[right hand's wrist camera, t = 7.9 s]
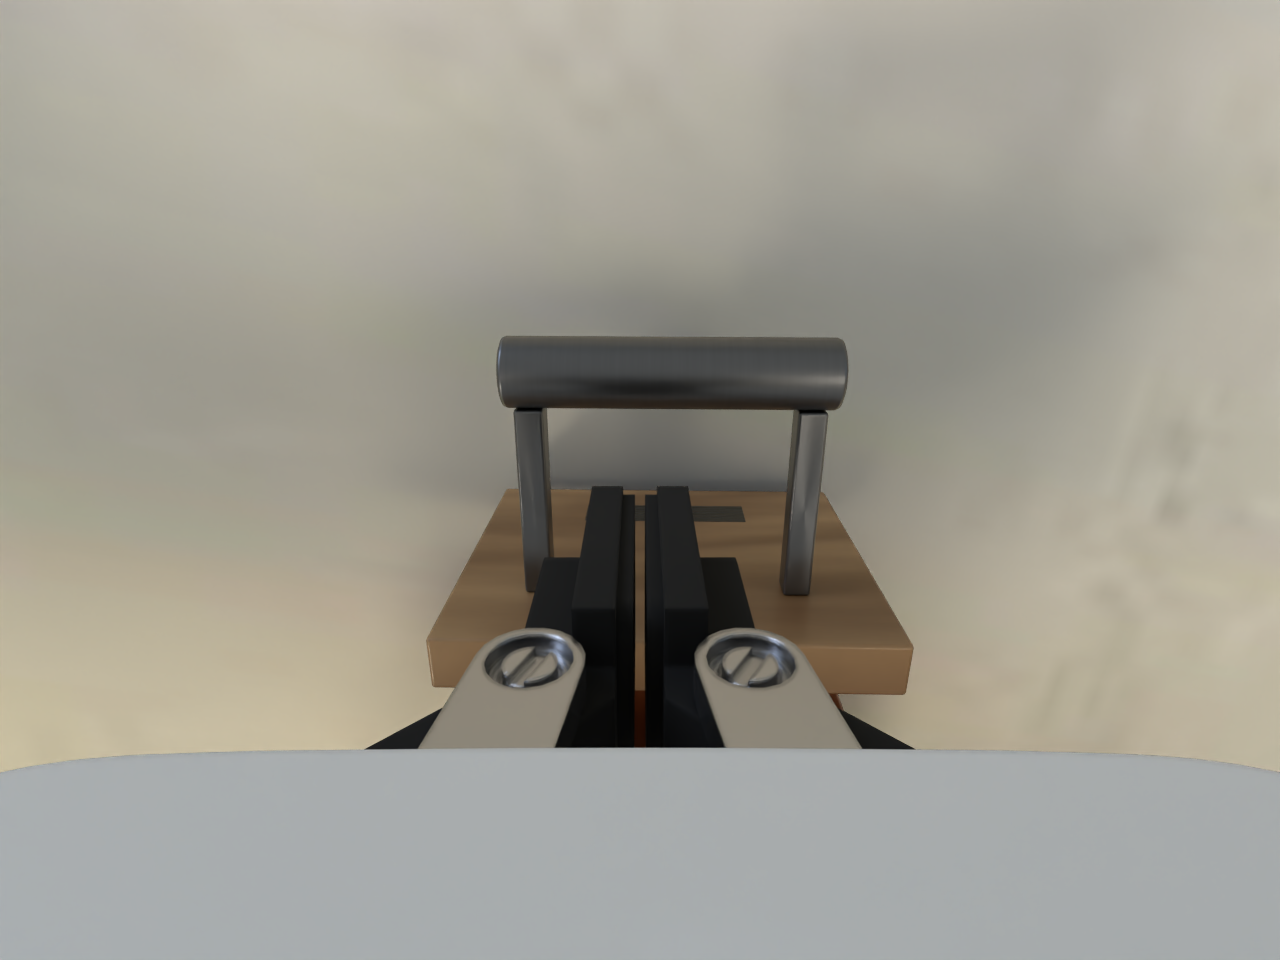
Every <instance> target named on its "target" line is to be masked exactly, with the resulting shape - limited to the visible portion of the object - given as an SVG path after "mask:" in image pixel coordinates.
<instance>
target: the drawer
mask: <svg viewBox="0 0 1280 960" xmlns="http://www.w3.org/2000/svg"><path fill="white" fill-rule="evenodd" d="M496 376H497V387H498V392H499V396H500V399H501V402H502V404H503V405H504V406H505V407H508V408H516V409H515V410H514V427H515V442H516V456H517V471H518V486H519V489H507V490H506V492H505V493H504V495H503V497H502V499H501V501H500V503H499V505H498V506H497V508H496V510H495V512H494V514H493V516H492V518H491V520H490V521H489V523H488V525H487V527H486V529H485V531H484V533H483V534H482V536H481V538H480V540H479V542H478V544H477V546H476V548H475V549H474V551H473V553H472V555H471V557H470V559H469V561H468V563H467V564H466V566H465V568H464V570H463V572H462V574H461V576H460V577H459V579H458V581H457V583H456V585H455V587H454V589H453V591H452V592H451V594H450V596H449V598H448V600H447V602H446V604H445V605H444V607H443V609H442V611H441V613H440V615H439V617H438V619H437V620H436V622H435V624H434V626H433V628H432V630H431V632H430V634H429V635H428V637H427V640H426V642H427V650H428V658H429V665H430V673H431V680H432V685H433V686H434V687H456V686H457V684H458V682H459V681H460V679H461V677H462V676H463V674H464V673H465V671H466V669H467V668H468V666H469V664H470V663H471V661H472V660H473V658H474V656H475V655H476V653H477V652H478V651H479V650H480V649H481V648H482V647H483V646H484V644H486V643H488V642H489V641H491V640H492V639H494V638H495V637H497V636H500V635H502V634H505V633H508V632H510V631H514V630H520V629H525V626H526V622H527V618H528V615H529V611H530V607H531V604H532V600H533V596H534V593H535V589H536V585H537V582H538V578H539V574H540V571H541V567H542V563H543V560H544V558H545V557H580V554H581V548H582V542H583V536H584V530H585V524H586V519H587V513H588V507H589V501H590V495H591V490H556V489H551V484H550V463H549V443H548V423H547V408H610V409H740V410H794V412H793V424H792V436H791V448H790V459H789V471H788V483H787V492H752V491H689V495H690V501H691V507H692V513H693V519H694V524H695V530H696V536H697V542H698V548H699V554H700V557H735V558H736V560H737V563H738V567H739V571H740V574H741V578H742V582H743V585H744V589H745V593H746V596H747V600H748V604H749V607H750V611H751V615H752V618H753V622H754V626H755V629H760V630H766V631H770V632H772V633H775V634H778V635H780V636H783V637H785V638H786V639H788V640H789V641H791V642H792V643H794V644H796V646H797V647H798V648H799V649H800V650H801V651H802V652H803V653H804V655H805V656H806V658H807V660H808V661H809V663H810V664H811V666H812V668H813V669H814V671H815V673H816V674H817V676H818V677H819V679H820V681H821V682H822V684H823V686H824V687H825V689H826V690H827V692H828V694H829V695H830V697H831V699H832V700H833V702H834V703H835V705H836V707H837V708H839V709H841V710H843V707H842V705H841V702H840V699H839V697H838V694H885V695H903V694H905V693H906V688H907V683H908V677H909V671H910V665H911V659H912V654H913V645H912V643H911V641H910V640H909V638H908V636H907V635H906V633H905V631H904V629H903V628H902V626H901V624H900V623H899V621H898V619H897V617H896V616H895V614H894V612H893V611H892V609H891V607H890V605H889V604H888V602H887V600H886V599H885V597H884V595H883V593H882V592H881V590H880V588H879V587H878V585H877V583H876V581H875V580H874V578H873V576H872V575H871V573H870V571H869V569H868V568H867V566H866V564H865V563H864V561H863V559H862V557H861V556H860V554H859V552H858V551H857V549H856V547H855V545H854V544H853V542H852V540H851V539H850V537H849V535H848V533H847V532H846V530H845V528H844V527H843V525H842V523H841V521H840V520H839V518H838V516H837V515H836V513H835V511H834V509H833V508H832V506H831V504H830V503H829V501H828V499H827V497H826V496H825V494H824V493H823V492H820V490H821V480H822V470H823V461H824V451H825V442H826V432H827V423H828V413H827V412H826V411H825V410H836V409H838V408H840V406H841V405H842V402H843V400H844V397H845V393H846V389H847V382H848V355H847V350H846V346H845V343H844V341H843V340H842V339H839V338H795V337H613V336H505V337H503V338H502V339H501V341H500V343H499V347H498V352H497V362H496ZM623 494H635V734H634V748H646V735H645V494H657V491H654V490H623ZM843 711H844V710H843Z"/></svg>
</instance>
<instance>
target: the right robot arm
mask: <svg viewBox="0 0 1280 960" xmlns="http://www.w3.org/2000/svg"><path fill="white" fill-rule="evenodd" d="M634 734H635V494H623V486H592V489H591V495H590V501H589V507H588V513H587V519H586V524H585V530H584V536H583V542H582V548H581V554H580V557H545V558H544V560H543V563H542V567H541V571H540V574H539V578H538V582H537V585H536V589H535V593H534V596H533V600H532V604H531V607H530V611H529V615H528V618H527V622H526V626H525V629H520V630H514V631H510V632H508V633H505V634H502V635H500V636H497V637H495V638H494V639H492V640H491V641H489V642H488V643H486V644H484V646H483V647H482V648H481V649H480V650H479V651H478V652H477V653H476V655H475V656H474V658H473V660H472V661H471V663H470V664H469V666H468V668H467V669H466V671H465V673H464V674H463V676H462V677H461V679H460V681H459V682H458V684H457V686H456V687H455V689H454V690H453V692H452V694H451V695H450V697H449V699H448V700H447V702H446V703H445V705H444V707H443V708H441V709H439V710H437V711H436V712H434V713H432V714H430V715H428V716H426V717H424V718H422V719H421V720H419V721H417V722H415V723H413V724H411V725H409V726H407V727H406V728H404V729H402V730H400V731H398V732H396V733H394V734H392V735H391V736H389V737H387V738H385V739H383V740H381V741H379V742H377V743H376V744H374V745H372V746H370V747H368V748H366V749H364V750H288V751H239V752H208V753H177V754H146V755H125V756H113V757H102V758H90V759H79V760H70V761H63V762H56V763H50V764H43V765H36V766H30V767H25V768H20V769H15V770H10V771H5V772H0V960H1280V772H1275V771H1270V770H1265V769H1260V768H1254V767H1249V766H1244V765H1238V764H1231V763H1224V762H1217V761H1209V760H1200V759H1191V758H1179V757H1168V756H1155V755H1134V754H1108V753H1073V752H1037V751H1001V750H916V749H914V748H912V747H910V746H908V745H906V744H904V743H903V742H901V741H899V740H897V739H895V738H893V737H891V736H889V735H888V734H886V733H884V732H882V731H880V730H878V729H876V728H874V727H873V726H871V725H869V724H867V723H865V722H863V721H861V720H859V719H858V718H856V717H854V716H852V715H850V714H848V713H846V712H844V711H843V710H841V709H839V708H837V707H836V705H835V703H834V702H833V700H832V699H831V697H830V695H829V694H828V692H827V690H826V689H825V687H824V686H823V684H822V682H821V681H820V679H819V677H818V676H817V674H816V673H815V671H814V669H813V668H812V666H811V664H810V663H809V661H808V660H807V658H806V656H805V655H804V653H803V652H802V651H801V650H800V649H799V648H798V647H797V646H796V644H794V643H792V642H791V641H789V640H788V639H786V638H785V637H783V636H780V635H778V634H775V633H772V632H770V631H766V630H760V629H755V626H754V622H753V618H752V615H751V611H750V607H749V604H748V600H747V596H746V593H745V589H744V585H743V582H742V578H741V574H740V571H739V567H738V563H737V560H736V558H735V557H700V554H699V548H698V542H697V536H696V530H695V524H694V519H693V513H692V507H691V501H690V495H689V489H688V486H657V494H645V735H646V748H634Z"/></svg>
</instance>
